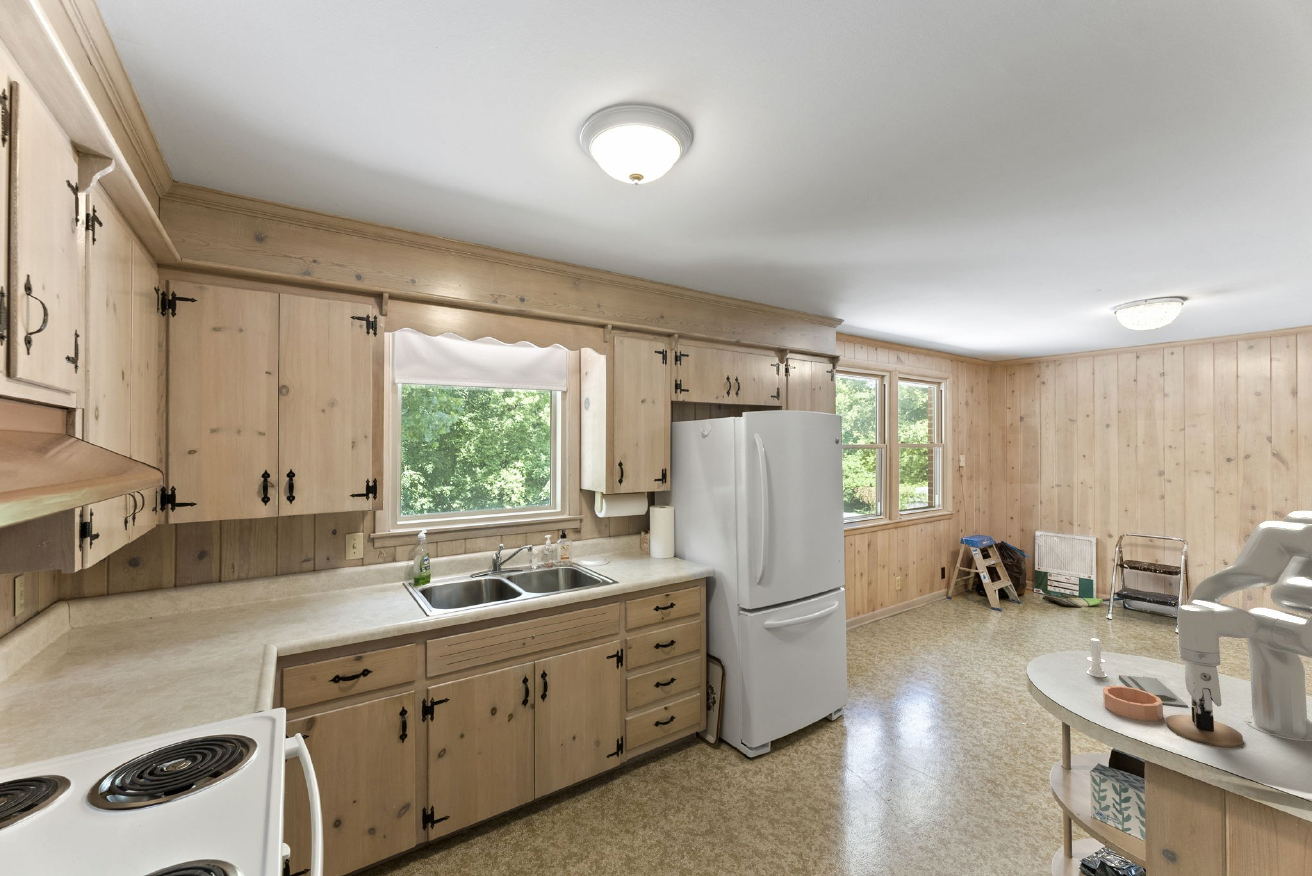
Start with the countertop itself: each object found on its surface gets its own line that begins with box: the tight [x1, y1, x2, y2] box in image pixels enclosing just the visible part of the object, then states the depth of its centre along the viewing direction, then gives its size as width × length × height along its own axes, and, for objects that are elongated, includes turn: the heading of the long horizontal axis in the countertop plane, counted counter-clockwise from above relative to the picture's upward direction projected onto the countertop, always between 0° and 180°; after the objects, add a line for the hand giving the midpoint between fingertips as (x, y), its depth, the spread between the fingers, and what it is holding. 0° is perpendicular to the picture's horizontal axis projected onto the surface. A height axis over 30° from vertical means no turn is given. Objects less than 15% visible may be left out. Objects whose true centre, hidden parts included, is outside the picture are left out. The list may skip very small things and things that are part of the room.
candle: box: [1086, 637, 1108, 678], centre depth 181 cm, size 5×5×12 cm
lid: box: [1165, 705, 1244, 748], centre depth 142 cm, size 14×14×6 cm
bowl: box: [1102, 685, 1164, 722], centre depth 155 cm, size 12×12×5 cm
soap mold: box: [1118, 674, 1189, 708], centre depth 166 cm, size 10×20×4 cm, turn 157°
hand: (1203, 725), depth 142 cm, fingers closed on lid, 3 cm apart
